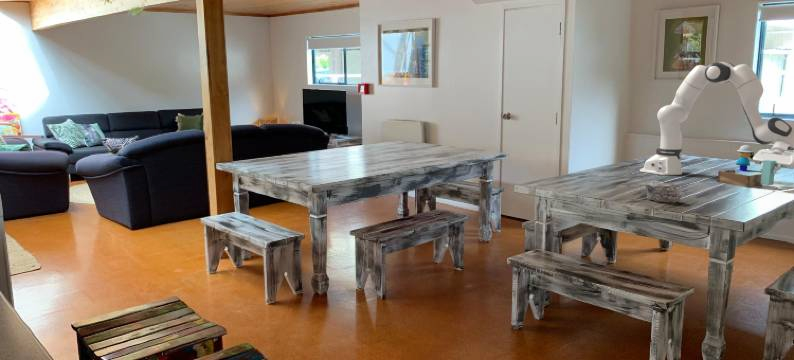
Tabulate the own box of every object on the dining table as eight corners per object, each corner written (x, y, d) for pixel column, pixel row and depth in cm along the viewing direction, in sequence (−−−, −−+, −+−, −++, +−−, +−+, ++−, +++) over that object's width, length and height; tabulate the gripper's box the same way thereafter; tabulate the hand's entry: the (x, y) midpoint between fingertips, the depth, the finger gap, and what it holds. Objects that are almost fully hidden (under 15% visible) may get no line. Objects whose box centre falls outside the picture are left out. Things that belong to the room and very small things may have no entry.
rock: (639, 199, 287) (644, 178, 284) (646, 195, 293) (651, 175, 290) (673, 210, 278) (679, 189, 274) (680, 206, 284) (685, 185, 280)
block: (765, 183, 313) (767, 159, 311) (773, 184, 310) (775, 160, 308) (760, 184, 311) (763, 160, 309) (768, 185, 308) (771, 161, 306)
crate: (731, 181, 332) (733, 169, 331) (762, 186, 318) (763, 174, 316) (717, 183, 326) (718, 171, 325) (747, 189, 312) (748, 176, 311)
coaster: (755, 189, 310) (755, 187, 310) (759, 187, 317) (759, 185, 317) (773, 191, 305) (773, 189, 305) (777, 189, 312) (777, 187, 311)
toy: (754, 171, 360) (757, 146, 358) (737, 171, 362) (740, 145, 359) (749, 169, 369) (751, 144, 366) (733, 169, 370) (735, 143, 367)
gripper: (758, 144, 319) (745, 164, 316) (800, 148, 302) (786, 170, 299) (763, 152, 322) (749, 172, 319) (804, 157, 305) (790, 178, 302)
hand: (767, 171), depth 309 cm, fingers closed on block, 4 cm apart
